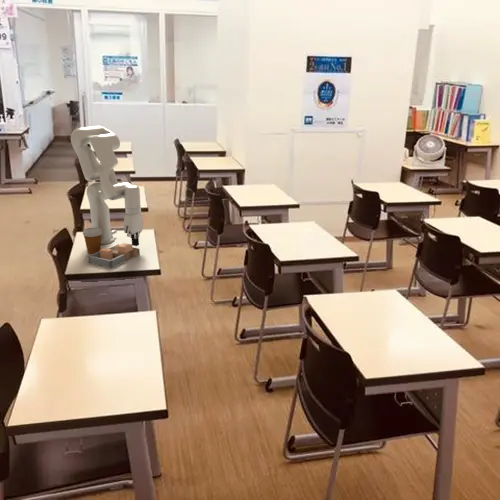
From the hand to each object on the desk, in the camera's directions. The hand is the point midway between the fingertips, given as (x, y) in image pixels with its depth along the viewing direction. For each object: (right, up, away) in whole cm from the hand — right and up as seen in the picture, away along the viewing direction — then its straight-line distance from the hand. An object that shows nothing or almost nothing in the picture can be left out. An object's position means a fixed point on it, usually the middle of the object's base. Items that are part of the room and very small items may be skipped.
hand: (135, 245), depth 273 cm
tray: (-11, -8, -12) cm, 18 cm away
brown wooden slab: (-6, -5, -4) cm, 9 cm away
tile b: (-4, -3, -6) cm, 8 cm away
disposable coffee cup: (-21, -4, 0) cm, 21 cm away
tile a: (-11, -4, -10) cm, 15 cm away
